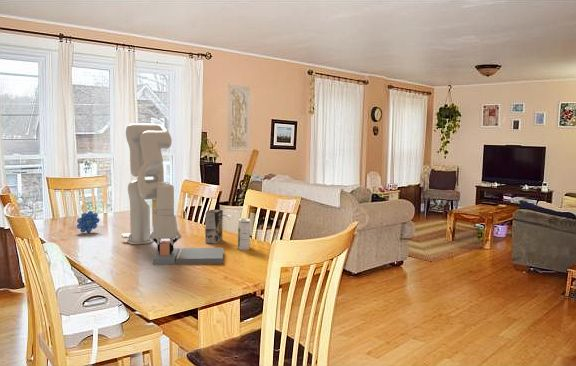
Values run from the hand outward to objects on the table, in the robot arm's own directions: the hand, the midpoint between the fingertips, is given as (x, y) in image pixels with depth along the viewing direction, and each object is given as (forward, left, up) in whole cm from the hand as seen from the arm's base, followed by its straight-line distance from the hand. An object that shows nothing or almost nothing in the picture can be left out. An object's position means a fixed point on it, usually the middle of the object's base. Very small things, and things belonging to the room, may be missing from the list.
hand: (165, 252), depth 206 cm
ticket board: (+15, 0, -3) cm, 16 cm away
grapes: (-49, +55, -3) cm, 74 cm away
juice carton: (-13, +72, -3) cm, 73 cm away
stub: (0, 0, -3) cm, 3 cm away
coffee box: (+20, +32, -3) cm, 38 cm away
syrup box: (+35, +17, -3) cm, 39 cm away
